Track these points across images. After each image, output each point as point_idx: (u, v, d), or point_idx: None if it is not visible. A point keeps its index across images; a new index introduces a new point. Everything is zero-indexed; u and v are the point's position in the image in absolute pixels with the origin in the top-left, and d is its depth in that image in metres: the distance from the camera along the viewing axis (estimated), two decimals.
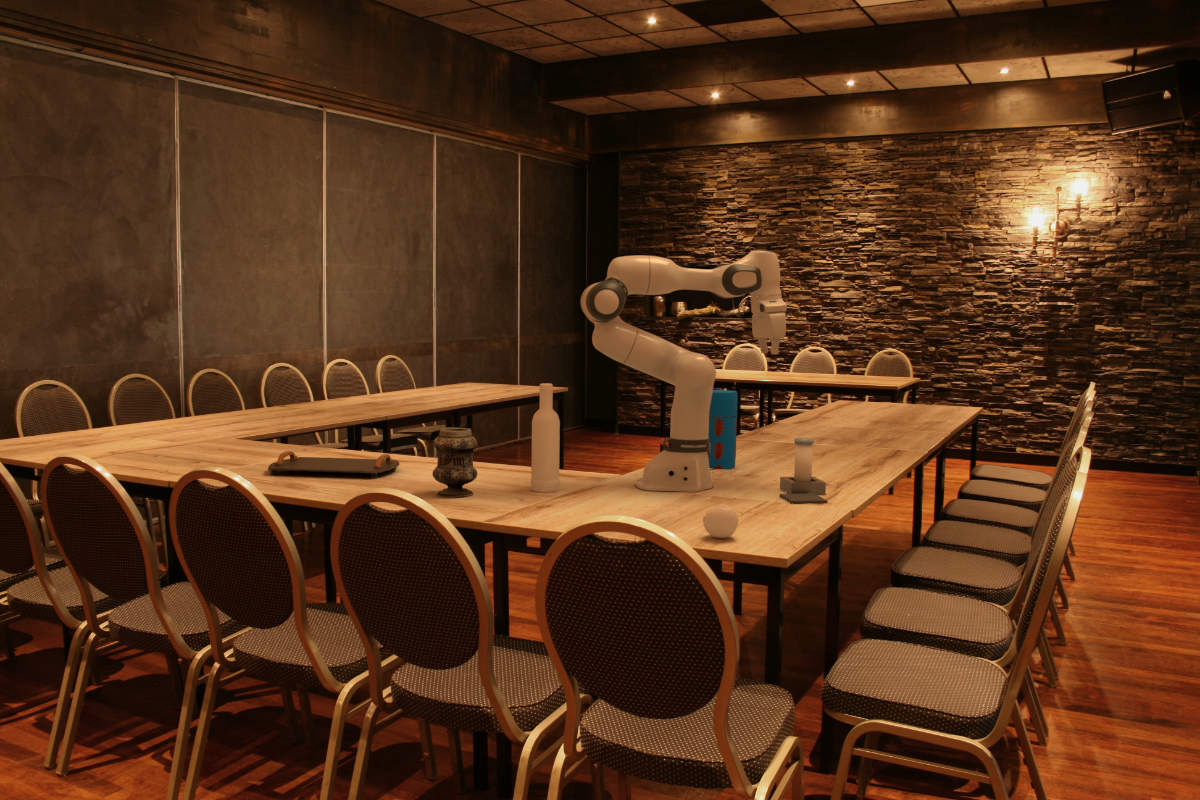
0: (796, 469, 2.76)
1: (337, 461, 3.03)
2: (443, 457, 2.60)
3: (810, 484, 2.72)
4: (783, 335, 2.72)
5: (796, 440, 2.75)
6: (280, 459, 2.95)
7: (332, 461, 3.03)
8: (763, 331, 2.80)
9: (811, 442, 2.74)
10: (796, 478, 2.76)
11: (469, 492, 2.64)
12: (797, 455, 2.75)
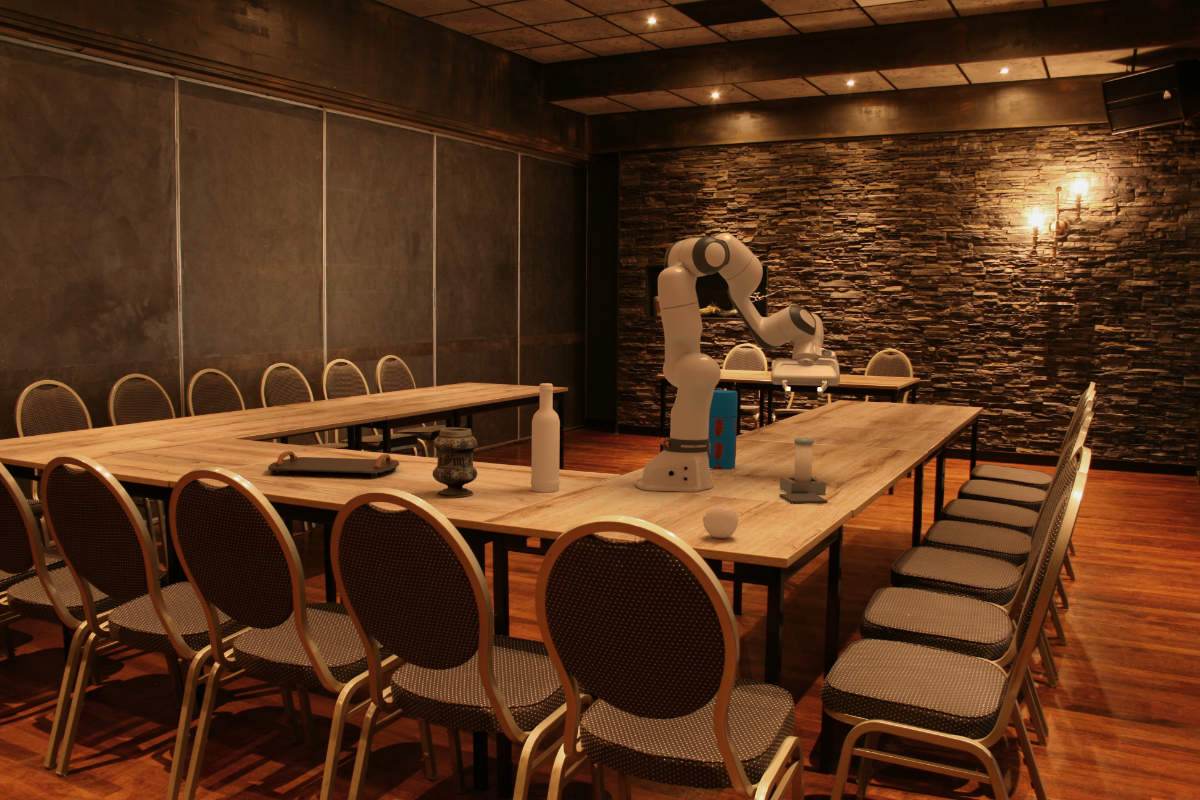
0: (796, 469, 2.76)
1: (337, 461, 3.03)
2: (443, 457, 2.60)
3: (810, 484, 2.72)
4: (839, 382, 2.88)
5: (796, 440, 2.75)
6: (280, 459, 2.95)
7: (332, 461, 3.03)
8: (809, 373, 2.89)
9: (811, 442, 2.74)
10: (796, 478, 2.76)
11: (469, 492, 2.64)
12: (797, 455, 2.75)
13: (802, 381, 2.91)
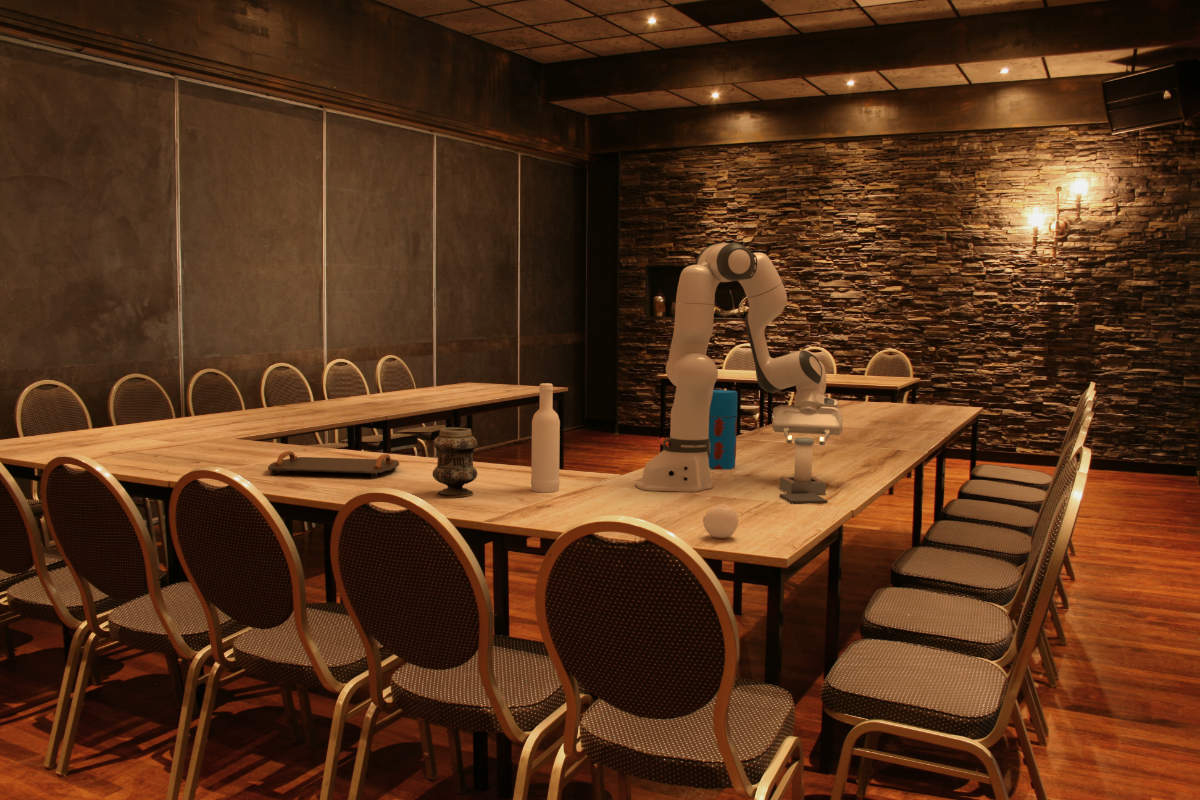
0: (796, 469, 2.76)
1: (337, 461, 3.03)
2: (443, 457, 2.60)
3: (810, 484, 2.72)
4: (841, 432, 2.83)
5: (796, 440, 2.75)
6: (280, 459, 2.95)
7: (332, 461, 3.03)
8: (811, 421, 2.84)
9: (811, 442, 2.74)
10: (796, 478, 2.76)
11: (469, 492, 2.64)
12: (797, 455, 2.75)
13: (804, 429, 2.86)
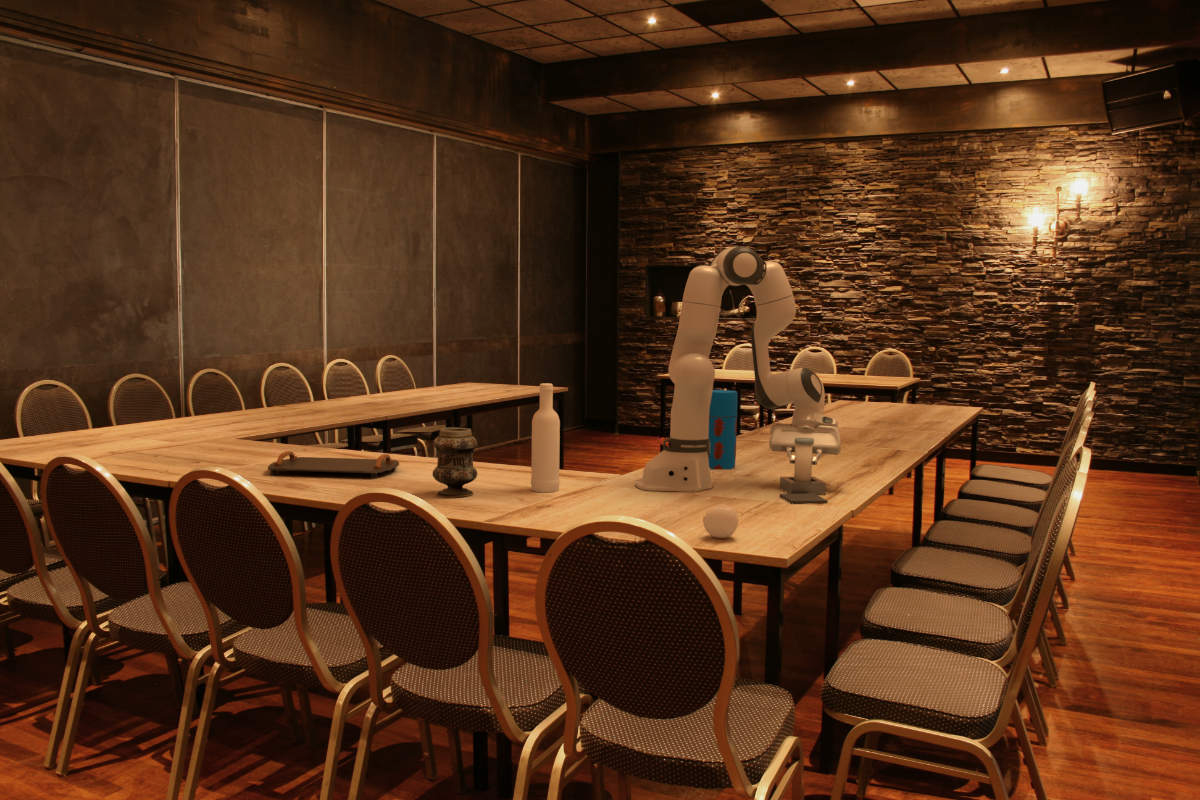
0: (796, 469, 2.76)
1: (337, 461, 3.03)
2: (443, 457, 2.60)
3: (810, 484, 2.72)
4: None
5: (796, 440, 2.75)
6: (280, 459, 2.95)
7: (332, 461, 3.03)
8: None
9: (811, 442, 2.74)
10: (796, 478, 2.76)
11: (469, 492, 2.64)
12: (797, 455, 2.75)
13: None
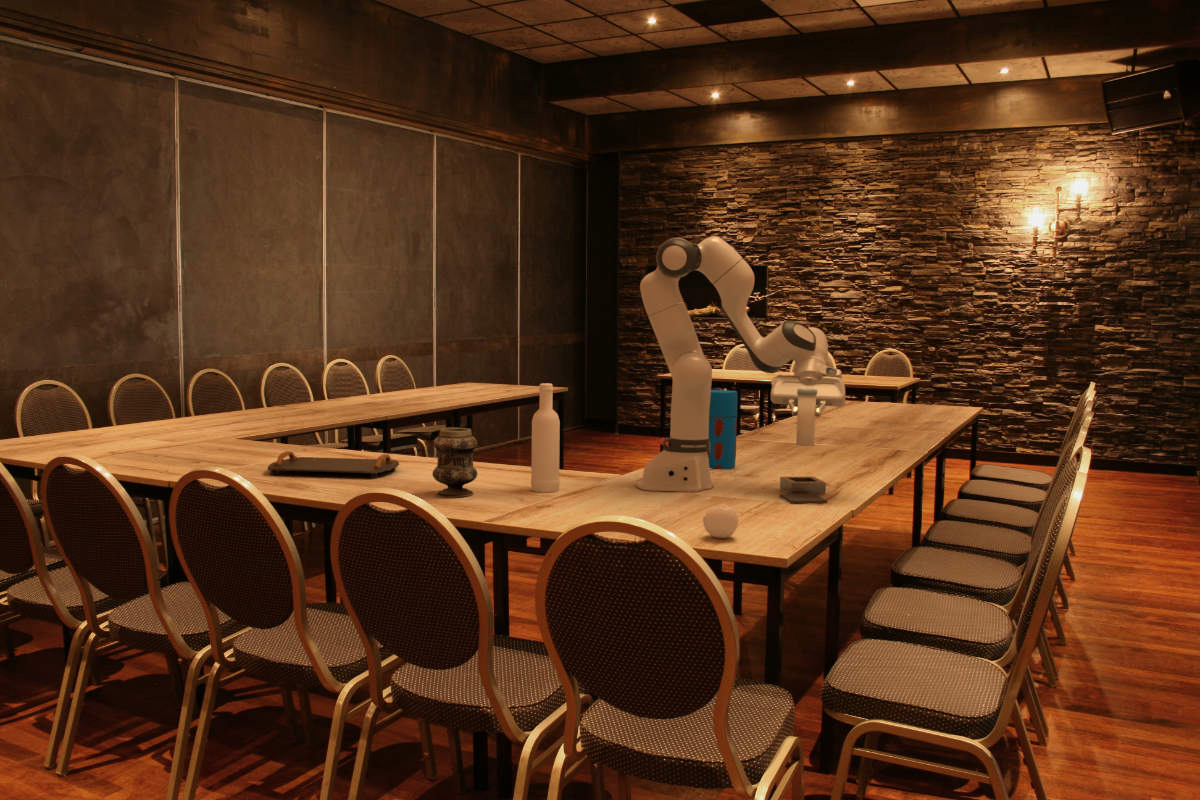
0: (799, 421, 2.64)
1: (337, 461, 3.03)
2: (443, 457, 2.60)
3: (810, 484, 2.72)
4: (844, 403, 2.66)
5: (799, 390, 2.63)
6: (280, 459, 2.95)
7: (332, 461, 3.02)
8: None
9: (815, 392, 2.62)
10: (799, 430, 2.64)
11: (469, 492, 2.64)
12: (800, 406, 2.63)
13: None
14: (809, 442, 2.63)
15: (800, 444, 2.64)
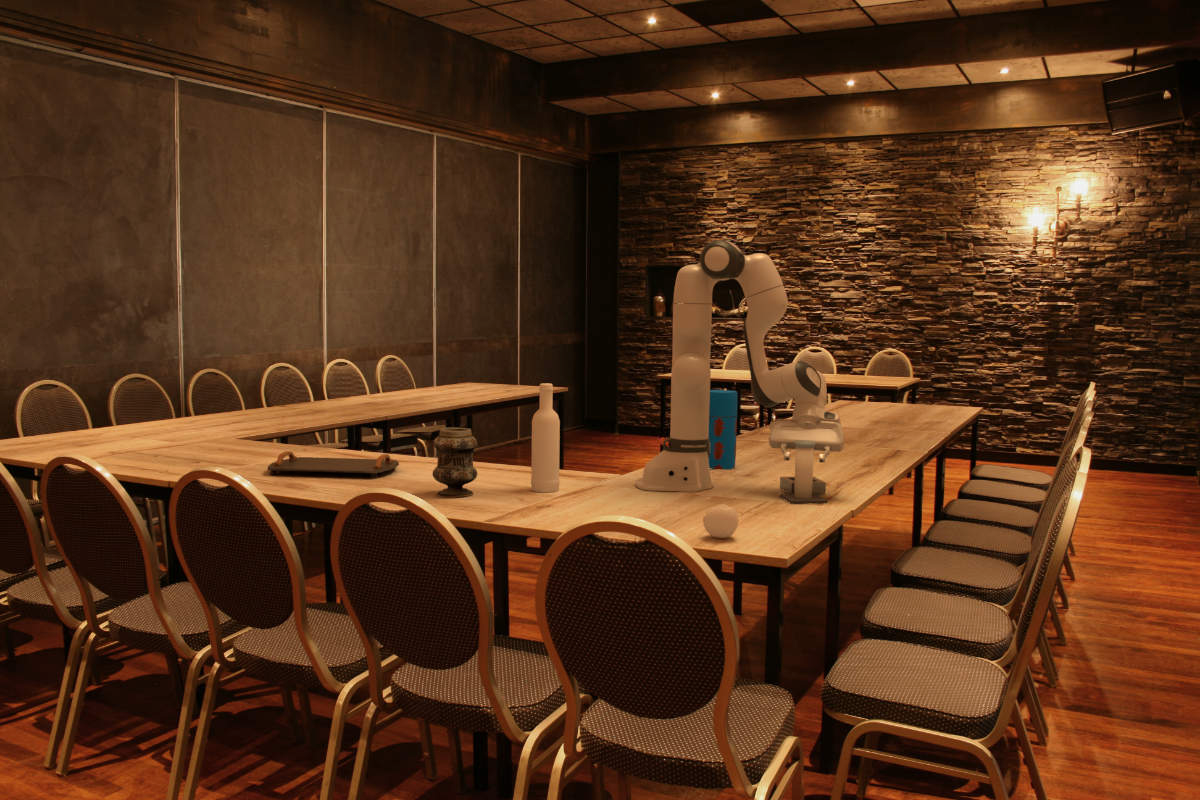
0: (796, 473, 2.63)
1: (336, 461, 3.03)
2: (443, 457, 2.60)
3: None
4: (843, 448, 2.65)
5: (796, 443, 2.62)
6: (279, 459, 2.95)
7: (331, 461, 3.02)
8: (811, 437, 2.66)
9: (812, 445, 2.61)
10: (796, 483, 2.63)
11: (469, 492, 2.64)
12: (798, 459, 2.62)
13: None
14: (807, 495, 2.63)
15: (798, 497, 2.63)
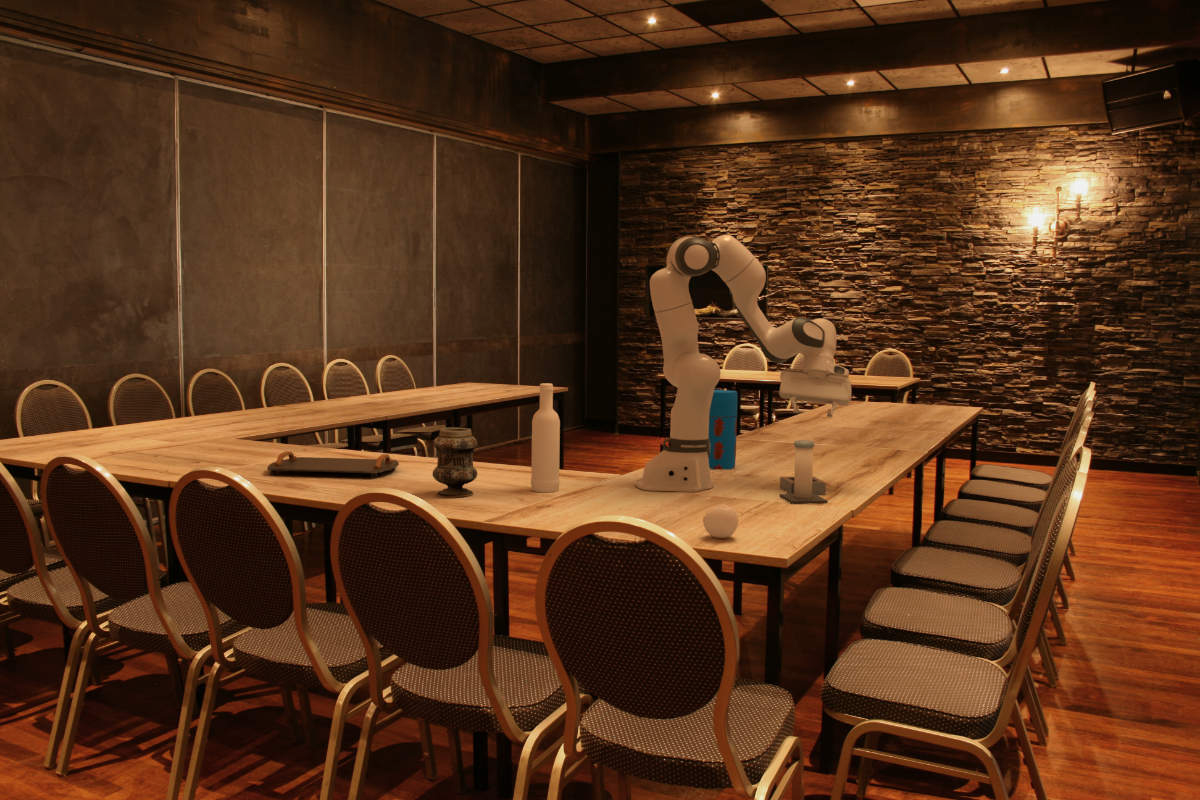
0: (796, 473, 2.63)
1: (336, 461, 3.03)
2: (443, 457, 2.60)
3: None
4: (849, 403, 2.77)
5: (796, 443, 2.62)
6: (279, 459, 2.95)
7: (331, 461, 3.02)
8: (820, 391, 2.77)
9: (811, 445, 2.61)
10: (796, 483, 2.63)
11: (469, 492, 2.64)
12: (797, 459, 2.62)
13: (811, 398, 2.79)
14: (807, 494, 2.63)
15: (798, 497, 2.63)
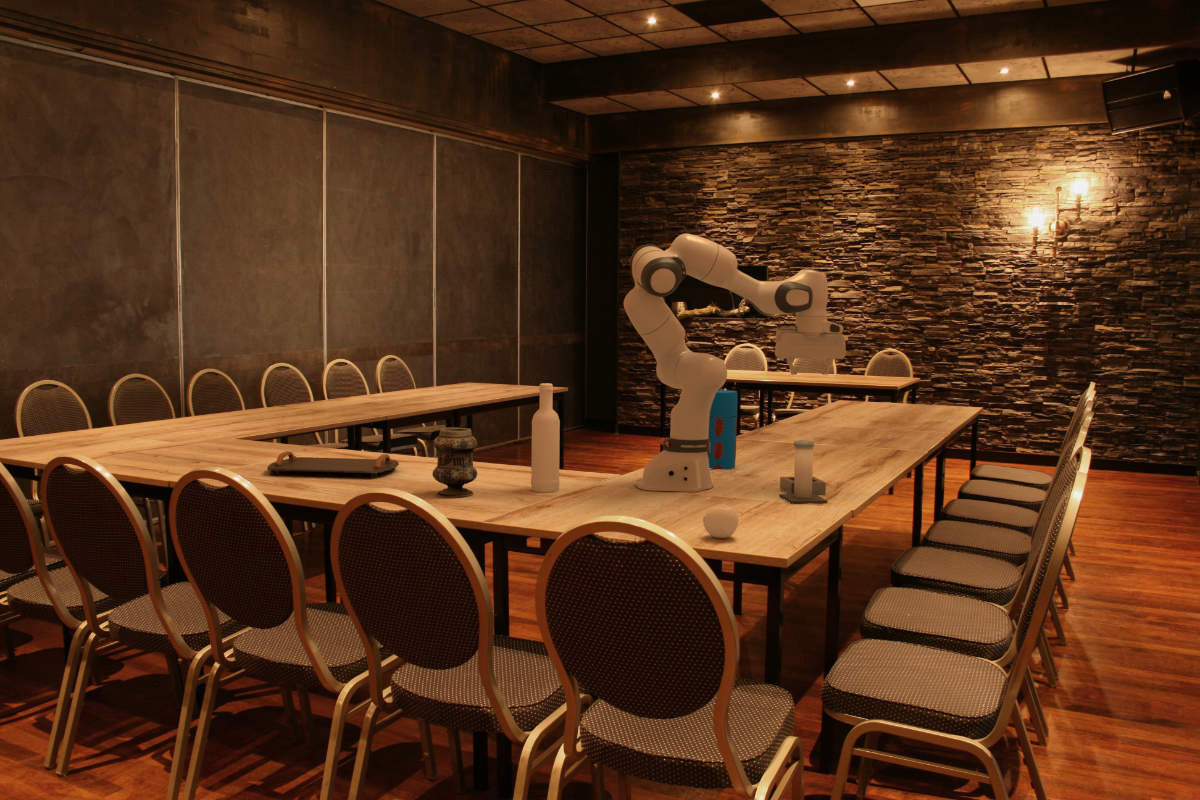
0: (796, 473, 2.63)
1: (336, 461, 3.03)
2: (443, 457, 2.60)
3: None
4: None
5: (795, 443, 2.63)
6: (279, 459, 2.95)
7: (331, 461, 3.02)
8: (816, 352, 2.78)
9: (811, 445, 2.62)
10: (796, 483, 2.63)
11: (469, 492, 2.64)
12: (797, 459, 2.63)
13: None
14: (807, 494, 2.63)
15: (798, 496, 2.63)
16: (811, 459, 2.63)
